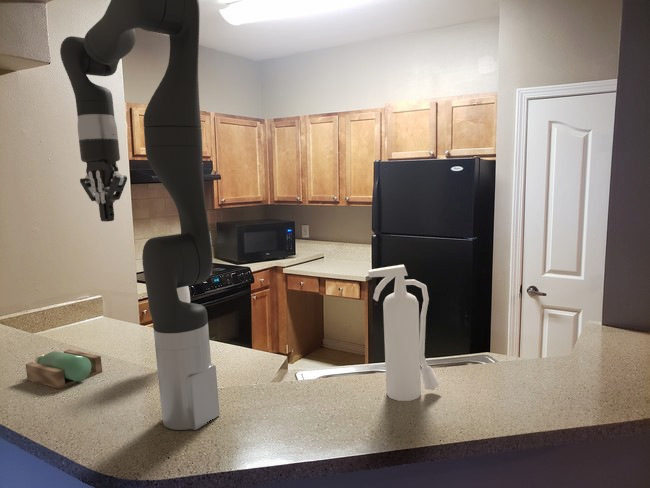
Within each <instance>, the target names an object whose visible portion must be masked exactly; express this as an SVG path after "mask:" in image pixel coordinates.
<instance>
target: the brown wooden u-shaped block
mask: <svg viewBox="0 0 650 488" xmlns="http://www.w3.org/2000/svg"><path fill="white" fill-rule="evenodd" d="M63 353H67V354H72V355H77V356H82V357H86V358H88V359H89V360H90V362H91V371H90V373H89V375H88V376H87V377H86V378H85V379H84V380H87V379H88V378H91V377H93V376H96V375H99V374H100V373H103V364H102V357H101V355H96V354H92V353H88V352H84V351H78V350H73V349H67V350H64V351H63ZM25 372H26V378H27V381H28V380H29V381H28V382H31V381H32V382H31V383H35V382H36V383H35V384H38V383H40V384H39V385H42V384H44V385H43V386H46V385H48V386H47V387H49V386H51V387H50V388H53V387H55V388H54V389H56V388H58V389H57V390H61V389H64V388H66V387H69V386H70V385H74V384H76V383H79V382H80V381H74V380H70V379H66V378H64V371H63V370H61V369H57V368H53V367H49V366H45V365H41V364H37V363H35V362H33V361H32V362H28V363H25ZM68 385H69V386H68ZM65 386H66V387H65ZM63 387H64V388H63ZM60 388H61V389H60Z"/></svg>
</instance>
